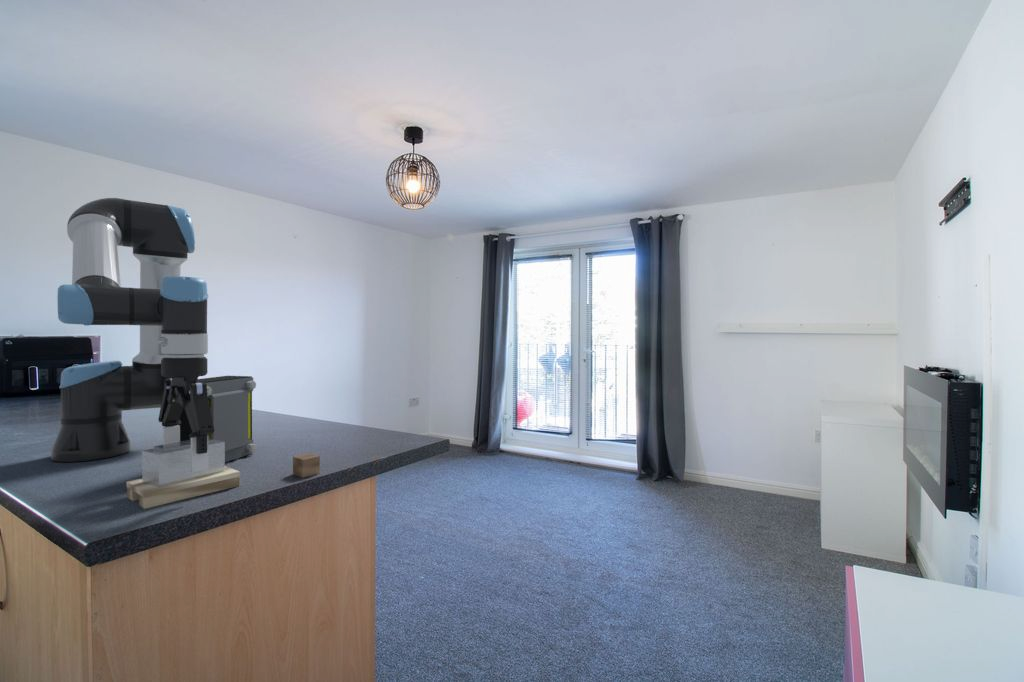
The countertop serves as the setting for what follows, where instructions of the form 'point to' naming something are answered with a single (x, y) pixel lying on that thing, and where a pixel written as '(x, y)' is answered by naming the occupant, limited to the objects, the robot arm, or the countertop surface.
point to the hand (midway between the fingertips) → (185, 464)
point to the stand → (181, 488)
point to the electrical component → (228, 414)
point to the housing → (179, 463)
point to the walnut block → (306, 465)
